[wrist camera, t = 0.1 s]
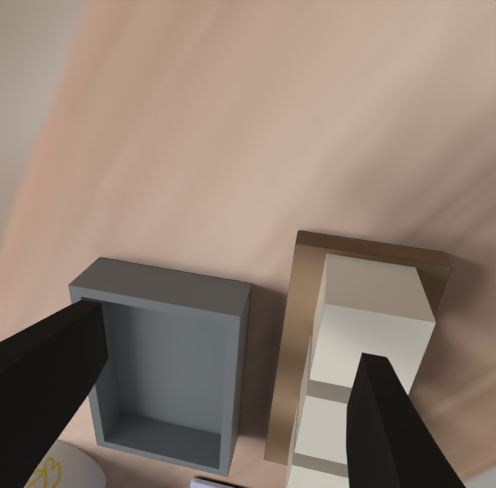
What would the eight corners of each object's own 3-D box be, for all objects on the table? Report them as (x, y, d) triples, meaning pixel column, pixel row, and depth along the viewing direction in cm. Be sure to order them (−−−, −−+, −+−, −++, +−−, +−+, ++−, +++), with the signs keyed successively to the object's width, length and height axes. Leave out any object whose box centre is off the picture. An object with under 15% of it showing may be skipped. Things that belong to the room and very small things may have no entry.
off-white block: (393, 335, 19) (406, 398, 16) (313, 320, 20) (309, 379, 16) (415, 267, 17) (435, 322, 14) (326, 253, 18) (324, 303, 14)
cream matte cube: (353, 457, 24) (356, 528, 20) (289, 443, 25) (282, 509, 21) (367, 415, 22) (373, 484, 19) (298, 400, 23) (291, 464, 19)
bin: (237, 436, 28) (227, 477, 25) (118, 408, 29) (97, 445, 26) (251, 283, 21) (240, 316, 19) (99, 257, 23) (68, 285, 20)
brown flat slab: (368, 462, 26) (370, 484, 25) (267, 439, 27) (263, 459, 26) (443, 252, 18) (452, 268, 17) (298, 230, 19) (295, 243, 18)
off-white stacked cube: (371, 403, 22) (378, 472, 18) (300, 388, 22) (294, 452, 19) (388, 350, 20) (400, 415, 16) (310, 335, 20) (305, 395, 17)
